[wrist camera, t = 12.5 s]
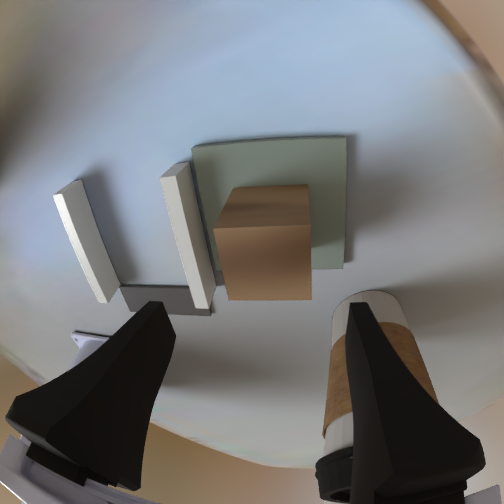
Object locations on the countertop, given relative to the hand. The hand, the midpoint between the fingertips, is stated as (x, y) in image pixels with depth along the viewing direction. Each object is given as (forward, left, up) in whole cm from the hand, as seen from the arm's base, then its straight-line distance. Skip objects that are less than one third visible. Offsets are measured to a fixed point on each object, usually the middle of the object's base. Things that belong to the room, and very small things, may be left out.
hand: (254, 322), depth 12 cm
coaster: (0, 0, -10) cm, 10 cm away
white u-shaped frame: (-3, +10, -10) cm, 14 cm away
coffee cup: (-10, -7, -10) cm, 16 cm away
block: (0, 0, -9) cm, 9 cm away
